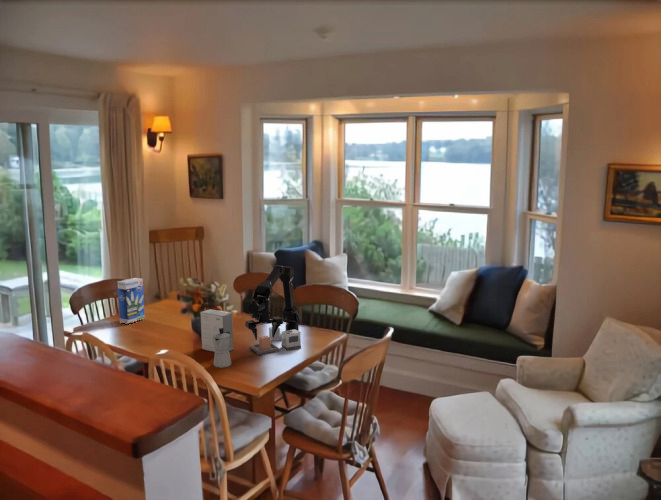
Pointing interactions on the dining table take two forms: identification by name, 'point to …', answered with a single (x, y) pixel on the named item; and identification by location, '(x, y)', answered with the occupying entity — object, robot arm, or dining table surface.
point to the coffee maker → (222, 349)
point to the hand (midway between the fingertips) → (264, 338)
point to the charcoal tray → (260, 352)
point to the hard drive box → (215, 327)
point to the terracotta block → (264, 343)
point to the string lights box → (131, 300)
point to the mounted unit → (291, 340)
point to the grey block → (277, 334)
